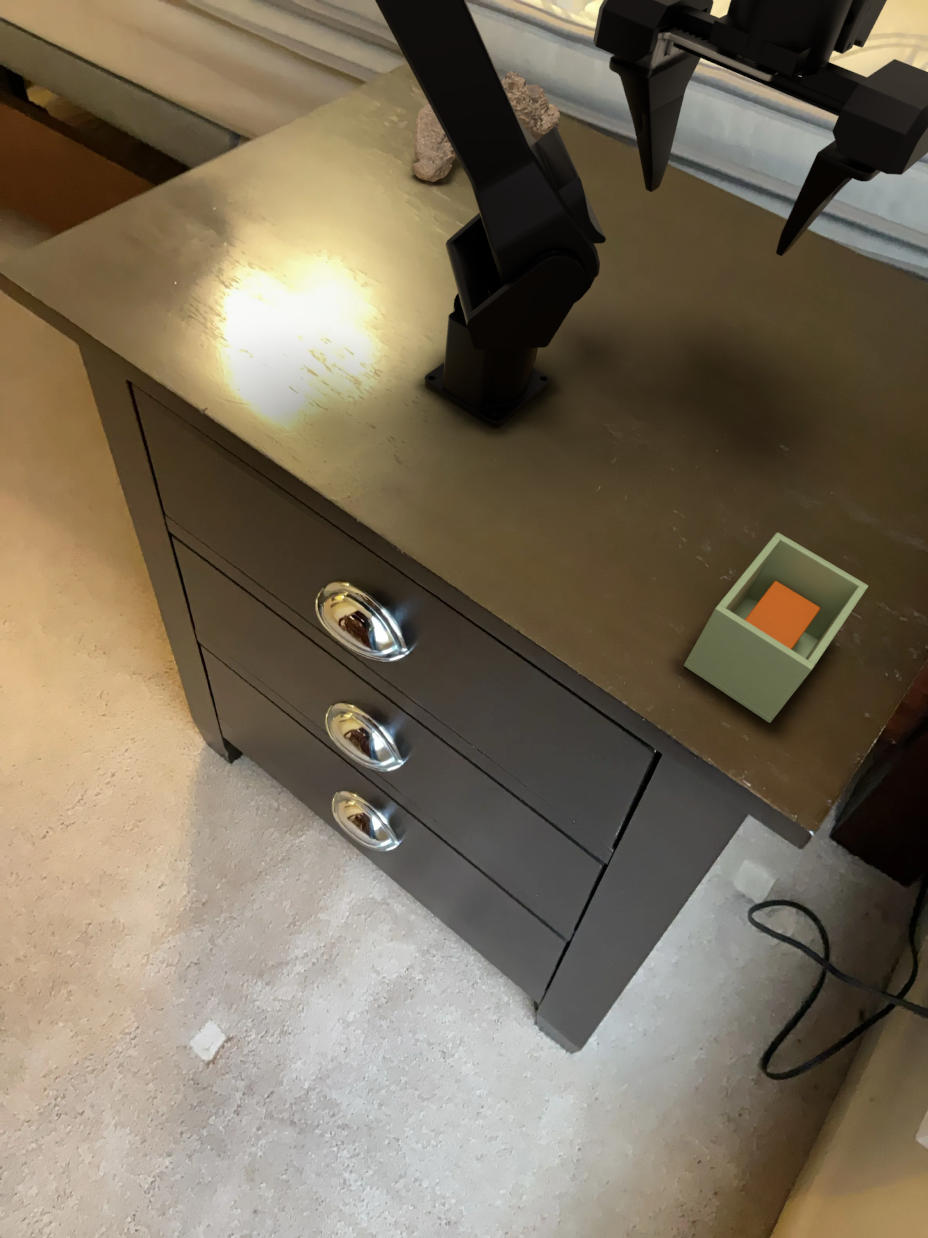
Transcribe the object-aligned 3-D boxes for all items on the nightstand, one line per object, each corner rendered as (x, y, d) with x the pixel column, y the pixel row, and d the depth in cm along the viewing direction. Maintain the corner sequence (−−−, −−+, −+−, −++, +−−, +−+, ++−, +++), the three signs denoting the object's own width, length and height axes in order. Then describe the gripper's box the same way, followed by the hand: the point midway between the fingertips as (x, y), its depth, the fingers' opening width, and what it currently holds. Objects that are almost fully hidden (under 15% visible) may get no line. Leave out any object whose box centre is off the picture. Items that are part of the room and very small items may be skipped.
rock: (397, 152, 77) (400, 65, 71) (540, 136, 82) (553, 52, 76) (421, 186, 74) (426, 98, 68) (568, 168, 79) (584, 83, 73)
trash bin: (769, 723, 46) (812, 669, 42) (683, 665, 48) (715, 608, 43) (824, 643, 49) (868, 585, 45) (742, 591, 51) (777, 531, 47)
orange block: (763, 689, 47) (784, 659, 44) (718, 660, 48) (737, 629, 45) (798, 638, 49) (821, 607, 47) (755, 611, 50) (775, 579, 47)
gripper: (1078, -75, 41) (909, 236, 53) (737, -182, 47) (658, 120, 59) (997, -23, 35) (831, 310, 48) (623, -152, 41) (563, 174, 54)
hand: (715, 219), depth 52 cm, fingers open, 9 cm apart
